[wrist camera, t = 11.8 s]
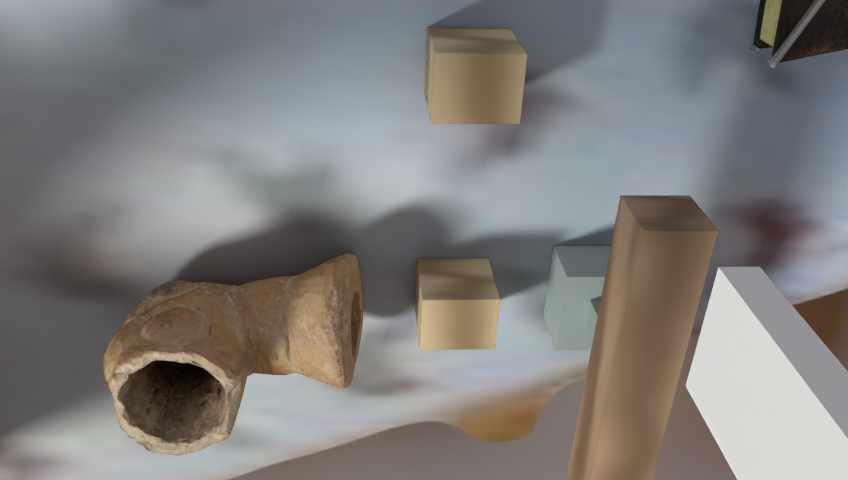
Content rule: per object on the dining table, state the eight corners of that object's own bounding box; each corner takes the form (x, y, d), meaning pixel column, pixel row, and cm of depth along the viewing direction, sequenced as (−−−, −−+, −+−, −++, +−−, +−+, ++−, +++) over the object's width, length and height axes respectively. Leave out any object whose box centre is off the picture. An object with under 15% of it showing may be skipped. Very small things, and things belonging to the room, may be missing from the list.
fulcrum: (543, 315, 57) (569, 388, 51) (553, 245, 54) (582, 313, 48) (622, 315, 58) (659, 386, 51) (637, 245, 55) (678, 312, 48)
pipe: (376, 330, 57) (381, 428, 48) (157, 368, 57) (123, 472, 49) (351, 224, 52) (351, 311, 44) (114, 265, 53) (67, 360, 44)
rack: (414, 306, 56) (420, 350, 52) (427, 27, 46) (435, 53, 42) (483, 305, 57) (494, 348, 52) (511, 29, 46) (527, 54, 42)
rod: (567, 476, 55) (581, 522, 51) (620, 195, 44) (643, 231, 40) (622, 474, 55) (640, 520, 52) (689, 195, 44) (718, 230, 41)
